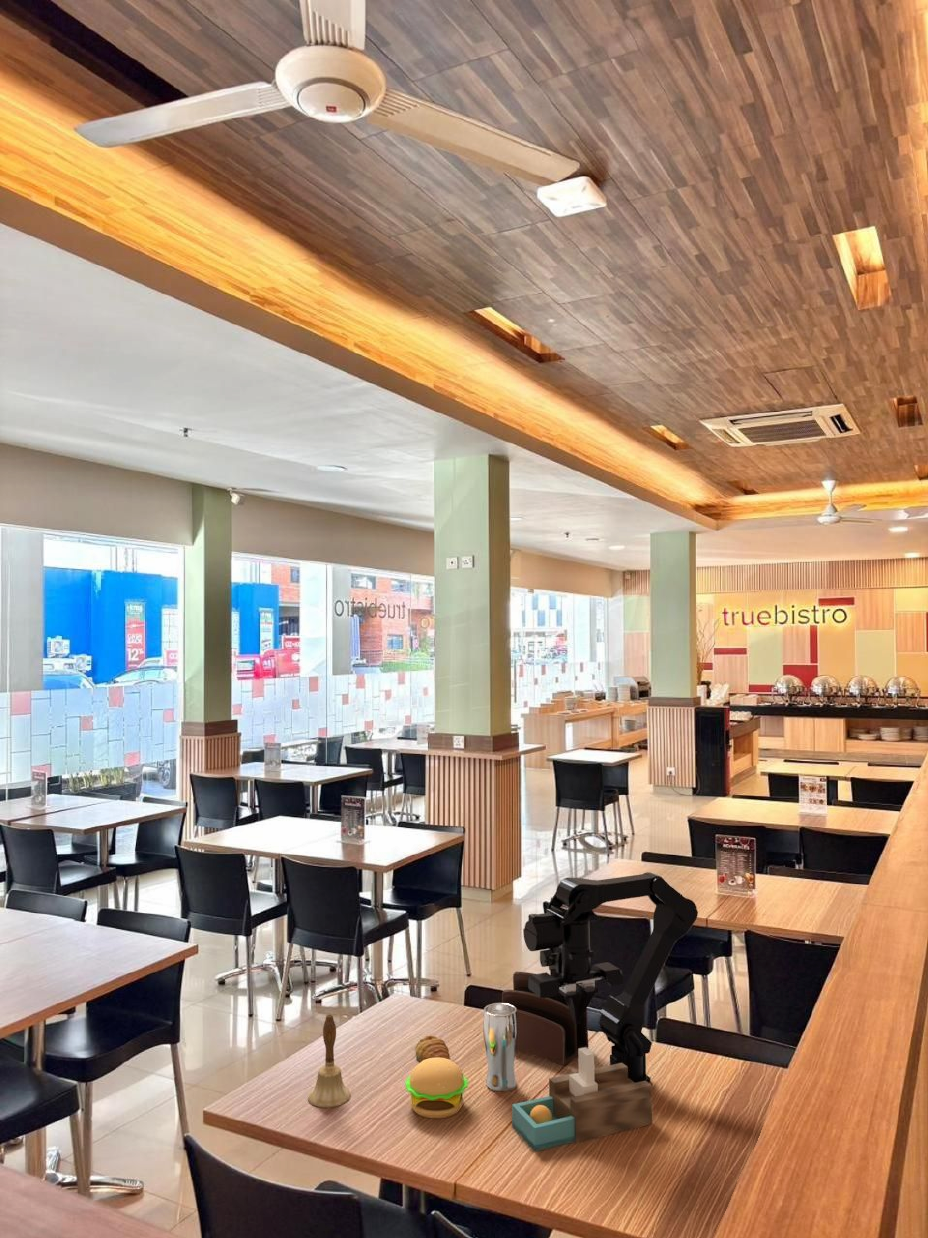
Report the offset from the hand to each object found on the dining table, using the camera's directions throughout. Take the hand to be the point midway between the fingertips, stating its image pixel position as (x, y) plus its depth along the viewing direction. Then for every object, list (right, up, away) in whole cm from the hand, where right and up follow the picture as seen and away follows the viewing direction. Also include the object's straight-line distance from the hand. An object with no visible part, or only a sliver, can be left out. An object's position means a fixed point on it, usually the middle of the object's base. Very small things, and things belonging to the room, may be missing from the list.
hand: (576, 1023), depth 181 cm
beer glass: (-15, -13, +2) cm, 20 cm away
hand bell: (-49, -14, -3) cm, 51 cm away
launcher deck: (+3, -13, -12) cm, 18 cm away
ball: (-9, -10, -17) cm, 21 cm away
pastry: (-29, -14, +14) cm, 35 cm away
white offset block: (0, -7, -13) cm, 15 cm away
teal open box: (-8, -13, -17) cm, 23 cm away
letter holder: (-6, -14, +20) cm, 25 cm away
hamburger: (-28, -13, -7) cm, 31 cm away
